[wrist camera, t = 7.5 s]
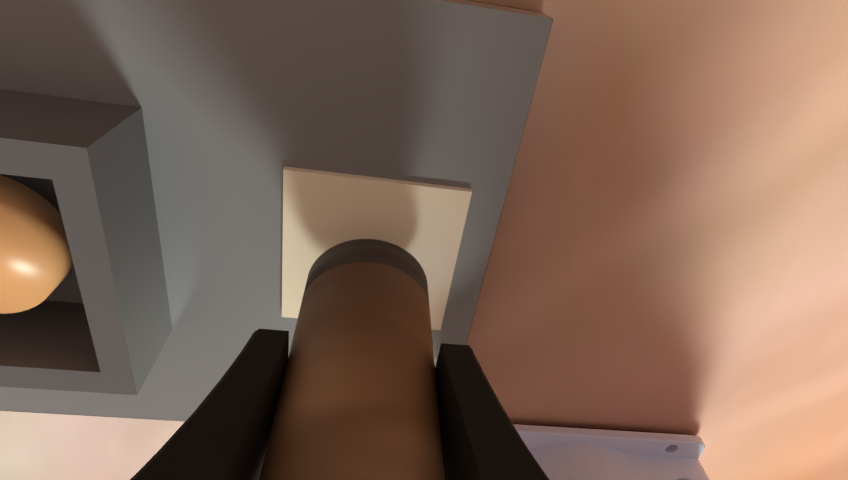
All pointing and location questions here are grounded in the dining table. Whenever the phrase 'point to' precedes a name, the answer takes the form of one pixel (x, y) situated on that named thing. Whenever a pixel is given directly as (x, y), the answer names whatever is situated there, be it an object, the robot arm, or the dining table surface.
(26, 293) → the breaker button
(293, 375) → the brown cylinder
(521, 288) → the dining table surface
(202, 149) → the switch panel
